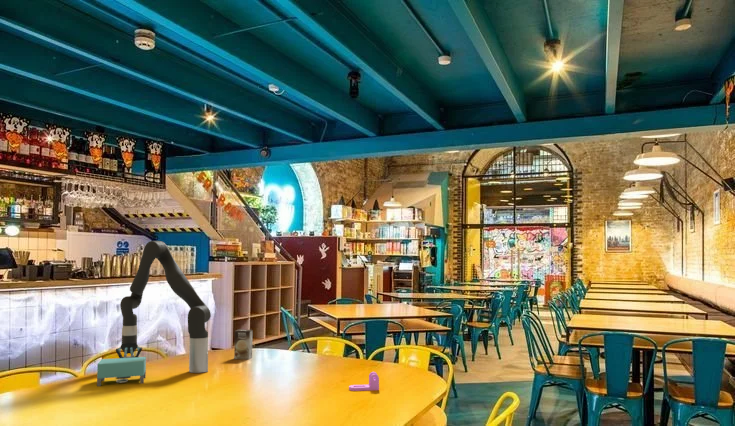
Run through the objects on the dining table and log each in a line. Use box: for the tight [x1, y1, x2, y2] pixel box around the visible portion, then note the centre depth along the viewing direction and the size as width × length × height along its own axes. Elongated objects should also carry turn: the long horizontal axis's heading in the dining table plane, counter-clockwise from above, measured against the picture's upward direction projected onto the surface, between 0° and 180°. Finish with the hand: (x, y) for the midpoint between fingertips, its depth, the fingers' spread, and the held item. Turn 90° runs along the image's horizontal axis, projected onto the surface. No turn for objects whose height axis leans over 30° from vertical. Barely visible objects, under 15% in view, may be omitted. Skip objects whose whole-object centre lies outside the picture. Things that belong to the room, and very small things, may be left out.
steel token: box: [115, 378, 129, 384], centre depth 282 cm, size 5×5×1 cm
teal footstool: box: [96, 356, 147, 387], centre depth 282 cm, size 20×13×10 cm, turn 106°
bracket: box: [348, 371, 380, 392], centre depth 264 cm, size 13×6×7 cm, turn 97°
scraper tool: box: [116, 355, 132, 379], centre depth 303 cm, size 28×6×6 cm, turn 16°
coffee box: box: [233, 328, 253, 360], centre depth 341 cm, size 9×6×16 cm
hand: (128, 366), depth 312 cm, fingers closed on scraper tool, 2 cm apart
